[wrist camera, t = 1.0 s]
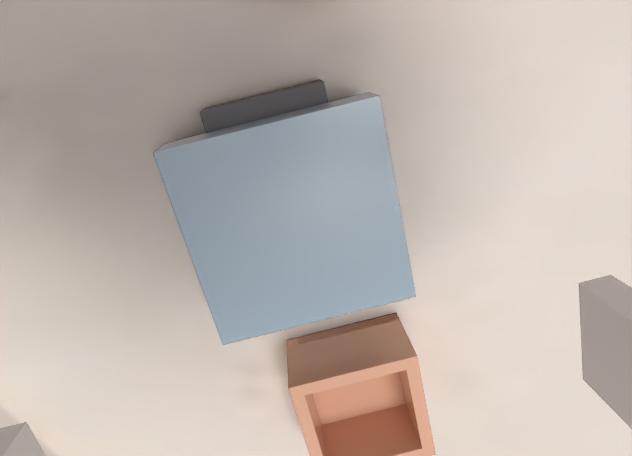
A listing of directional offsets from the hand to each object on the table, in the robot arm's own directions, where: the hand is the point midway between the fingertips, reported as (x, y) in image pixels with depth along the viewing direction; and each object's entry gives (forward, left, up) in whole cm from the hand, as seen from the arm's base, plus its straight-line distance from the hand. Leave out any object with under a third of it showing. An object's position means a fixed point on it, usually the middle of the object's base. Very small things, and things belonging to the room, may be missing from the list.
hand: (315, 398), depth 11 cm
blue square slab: (0, 0, -14) cm, 14 cm away
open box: (+12, +1, -16) cm, 20 cm away
